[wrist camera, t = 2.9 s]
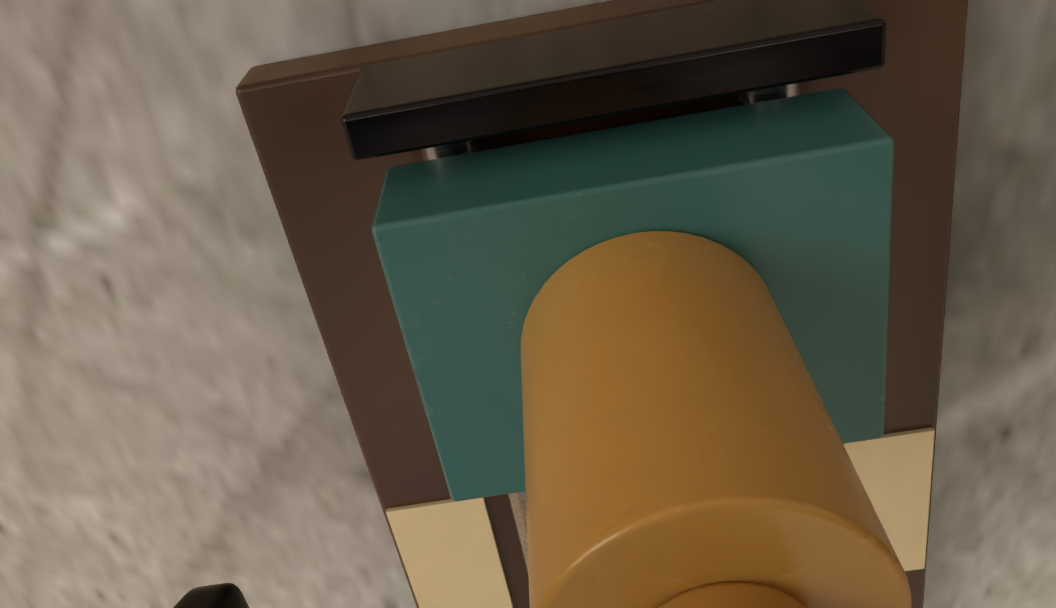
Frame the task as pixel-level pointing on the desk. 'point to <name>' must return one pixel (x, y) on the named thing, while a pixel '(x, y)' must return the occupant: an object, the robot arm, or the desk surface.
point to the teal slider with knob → (662, 350)
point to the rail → (579, 107)
